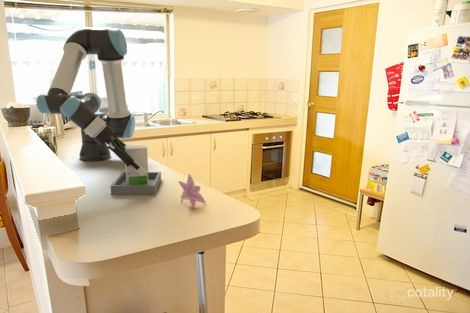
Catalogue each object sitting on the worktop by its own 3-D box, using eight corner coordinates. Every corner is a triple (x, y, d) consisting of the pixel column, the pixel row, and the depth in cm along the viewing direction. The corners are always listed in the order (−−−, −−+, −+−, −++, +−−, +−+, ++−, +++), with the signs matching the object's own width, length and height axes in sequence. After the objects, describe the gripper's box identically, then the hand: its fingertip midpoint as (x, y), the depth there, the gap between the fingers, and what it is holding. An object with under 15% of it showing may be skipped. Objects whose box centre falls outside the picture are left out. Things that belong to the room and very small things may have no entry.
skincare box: (127, 188, 131) (124, 148, 127) (125, 182, 137) (123, 145, 133) (149, 185, 134) (147, 147, 130) (146, 180, 140) (145, 143, 136)
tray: (122, 179, 144) (122, 171, 143) (161, 179, 145) (160, 172, 144) (111, 194, 126) (110, 185, 126) (154, 194, 128) (154, 185, 127)
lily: (175, 215, 112) (188, 193, 109) (162, 192, 120) (174, 171, 117) (203, 217, 121) (216, 197, 117) (190, 195, 128) (202, 176, 125)
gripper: (96, 133, 138) (138, 168, 145) (88, 144, 117) (137, 185, 124) (109, 120, 138) (151, 156, 145) (103, 129, 117) (152, 171, 124)
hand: (145, 169), depth 135 cm, fingers open, 10 cm apart
